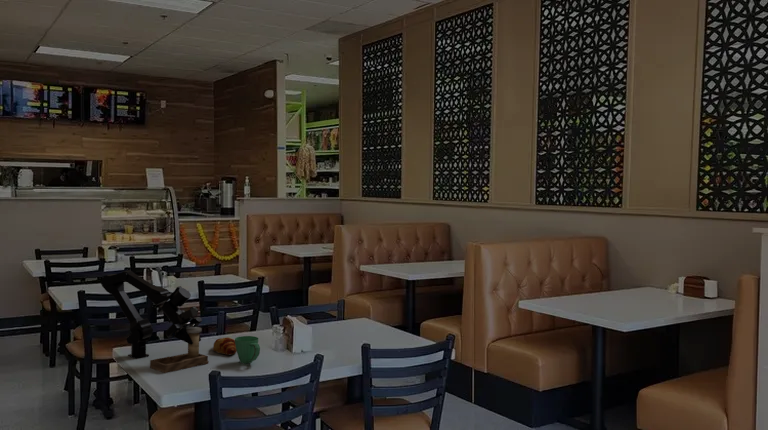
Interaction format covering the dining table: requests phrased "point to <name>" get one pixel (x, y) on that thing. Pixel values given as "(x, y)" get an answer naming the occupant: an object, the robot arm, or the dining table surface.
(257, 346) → the mug
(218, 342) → the croissant
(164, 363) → the tray
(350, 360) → the dining table surface
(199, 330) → the peg
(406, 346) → the dining table surface
